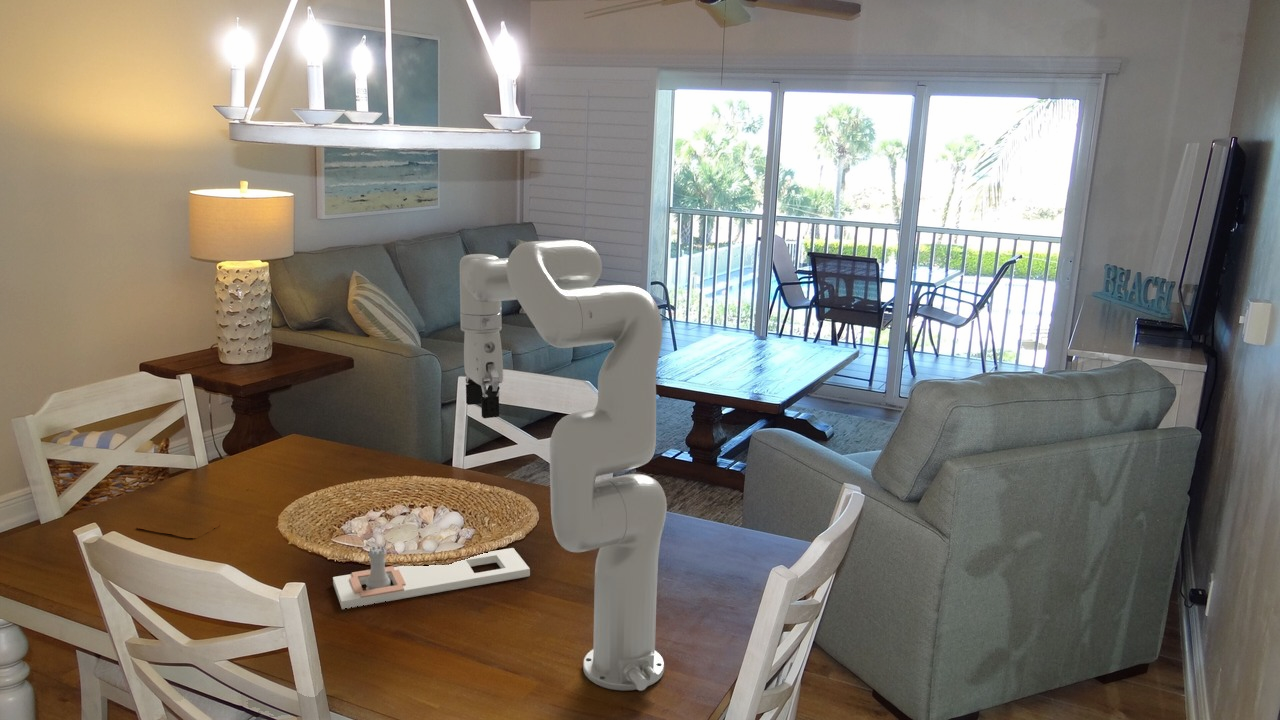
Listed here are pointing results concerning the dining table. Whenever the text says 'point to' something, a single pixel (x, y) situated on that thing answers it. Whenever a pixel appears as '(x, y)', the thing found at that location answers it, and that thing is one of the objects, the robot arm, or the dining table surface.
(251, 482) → the dining table surface
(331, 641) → the dining table surface
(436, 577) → the white board with slots
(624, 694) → the dining table surface
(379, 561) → the rook chess piece
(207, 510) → the dining table surface
